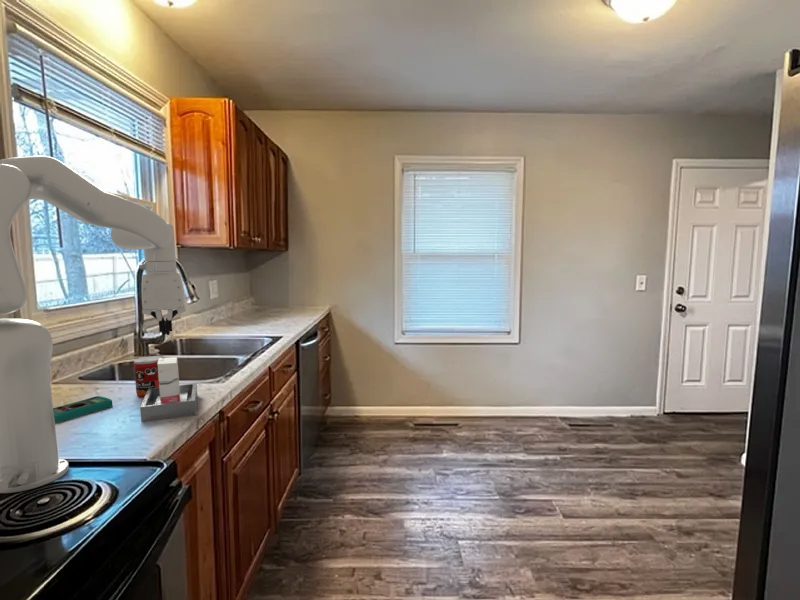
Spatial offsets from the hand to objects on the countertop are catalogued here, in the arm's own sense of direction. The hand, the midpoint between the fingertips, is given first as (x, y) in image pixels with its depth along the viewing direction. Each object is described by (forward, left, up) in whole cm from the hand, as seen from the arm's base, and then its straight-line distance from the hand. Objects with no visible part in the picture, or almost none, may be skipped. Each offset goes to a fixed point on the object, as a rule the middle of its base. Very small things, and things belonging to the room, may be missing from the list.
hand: (166, 334), depth 131 cm
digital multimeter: (+7, +24, -22) cm, 33 cm away
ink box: (0, 0, -19) cm, 19 cm away
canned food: (+18, +7, -21) cm, 29 cm away
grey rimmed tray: (0, 0, -21) cm, 21 cm away
